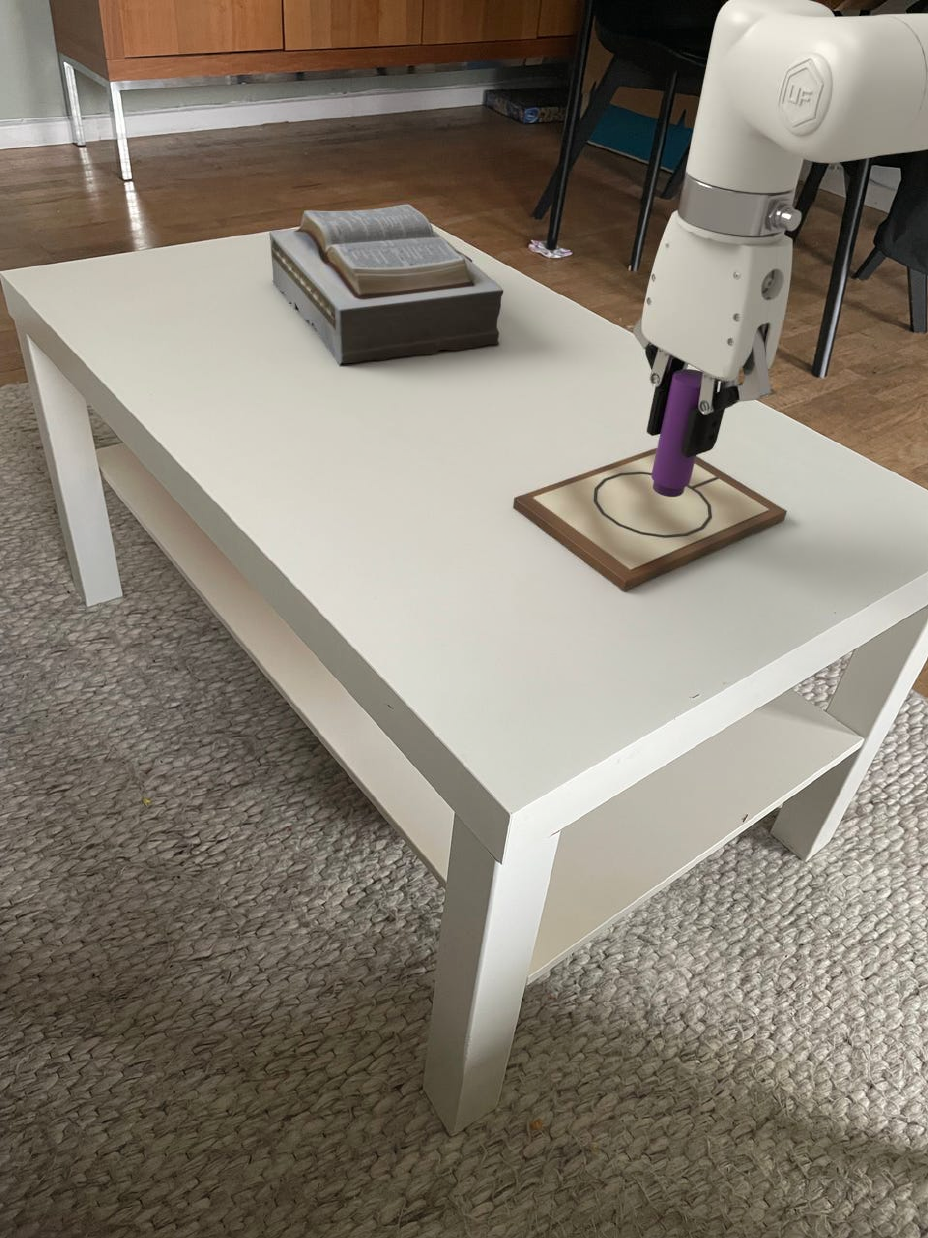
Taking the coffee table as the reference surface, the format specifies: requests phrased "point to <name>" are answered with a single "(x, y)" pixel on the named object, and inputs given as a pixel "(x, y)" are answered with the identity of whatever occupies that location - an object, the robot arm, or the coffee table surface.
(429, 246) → the bible
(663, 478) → the marker
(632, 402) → the coffee table surface
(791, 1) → the robot arm
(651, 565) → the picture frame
